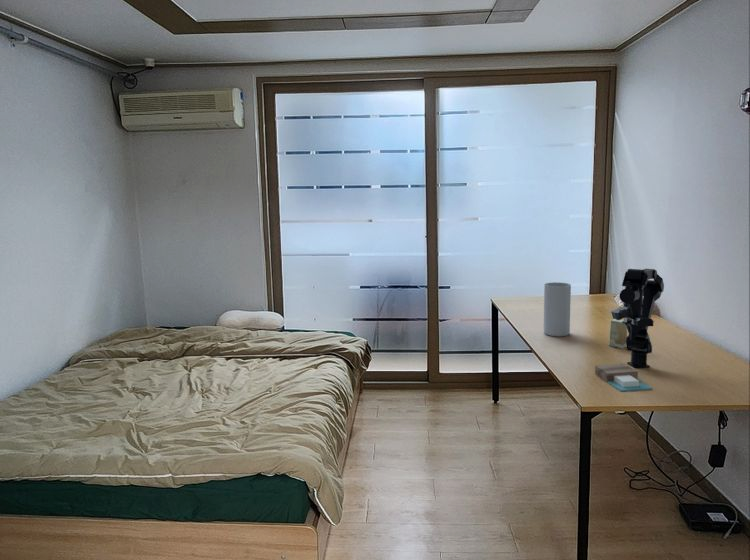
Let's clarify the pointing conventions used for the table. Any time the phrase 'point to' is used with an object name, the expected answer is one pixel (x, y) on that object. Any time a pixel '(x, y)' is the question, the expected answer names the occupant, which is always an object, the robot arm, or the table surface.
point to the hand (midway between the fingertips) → (632, 340)
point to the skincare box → (618, 334)
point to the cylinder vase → (557, 309)
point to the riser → (614, 371)
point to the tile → (626, 380)
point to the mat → (633, 388)
